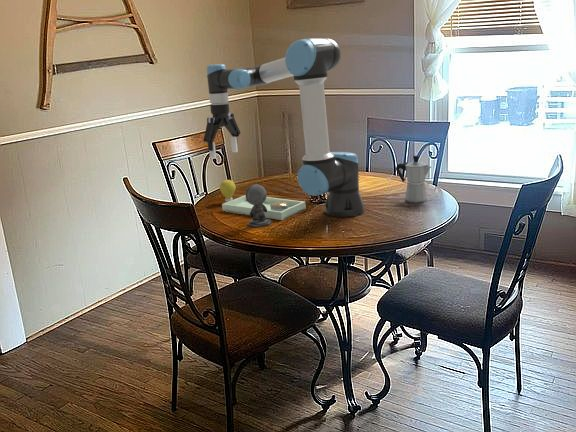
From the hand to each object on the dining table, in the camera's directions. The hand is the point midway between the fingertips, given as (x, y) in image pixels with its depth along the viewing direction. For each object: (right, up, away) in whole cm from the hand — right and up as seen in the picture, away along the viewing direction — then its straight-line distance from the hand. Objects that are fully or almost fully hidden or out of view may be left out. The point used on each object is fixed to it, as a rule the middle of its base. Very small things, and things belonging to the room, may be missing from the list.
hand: (224, 155), depth 243 cm
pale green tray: (+17, -23, -8) cm, 30 cm away
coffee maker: (+77, -19, -8) cm, 80 cm away
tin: (+23, -23, -13) cm, 35 cm away
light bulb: (+1, -20, +6) cm, 21 cm away
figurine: (+16, -28, -25) cm, 41 cm away
